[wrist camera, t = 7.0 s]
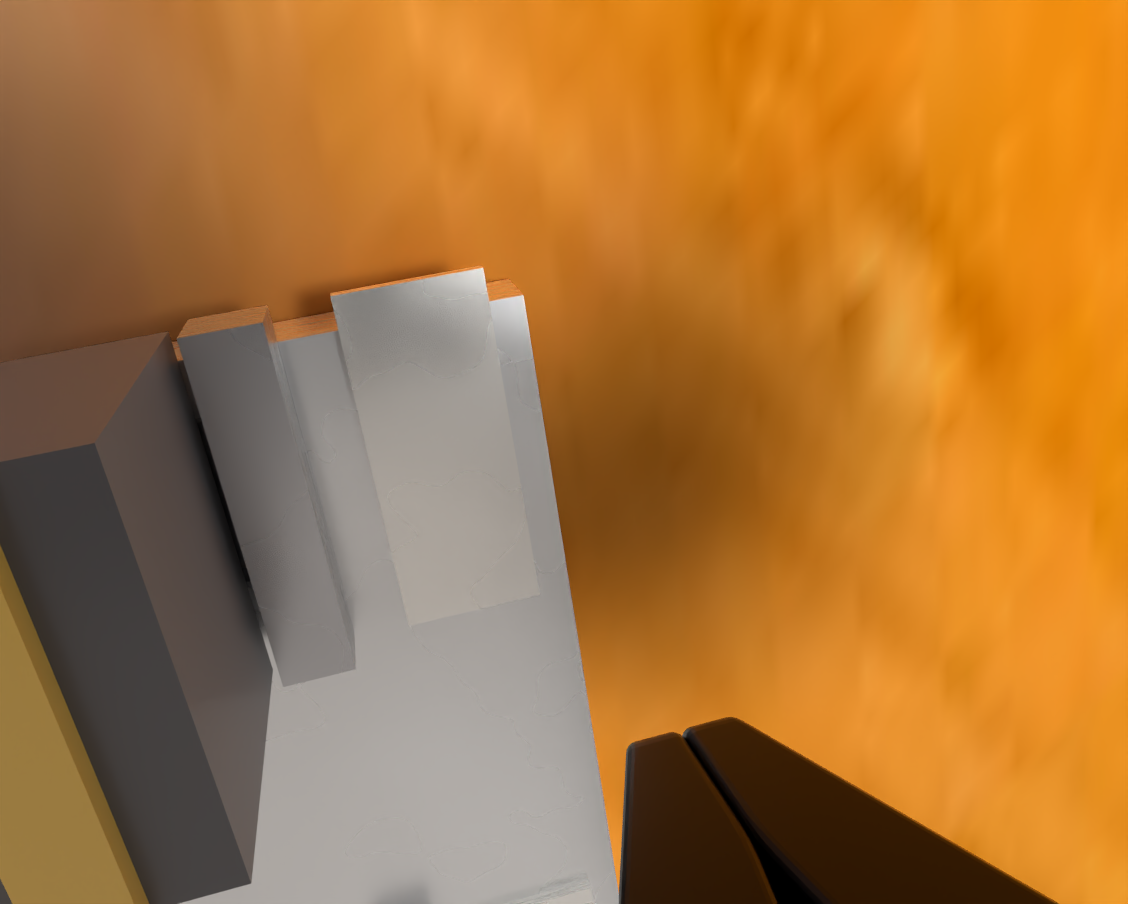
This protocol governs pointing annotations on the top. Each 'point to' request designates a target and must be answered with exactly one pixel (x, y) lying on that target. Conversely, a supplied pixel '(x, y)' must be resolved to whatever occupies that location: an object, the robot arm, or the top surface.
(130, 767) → the block
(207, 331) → the panel
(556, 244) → the top surface
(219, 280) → the top surface
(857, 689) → the top surface
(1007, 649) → the top surface
